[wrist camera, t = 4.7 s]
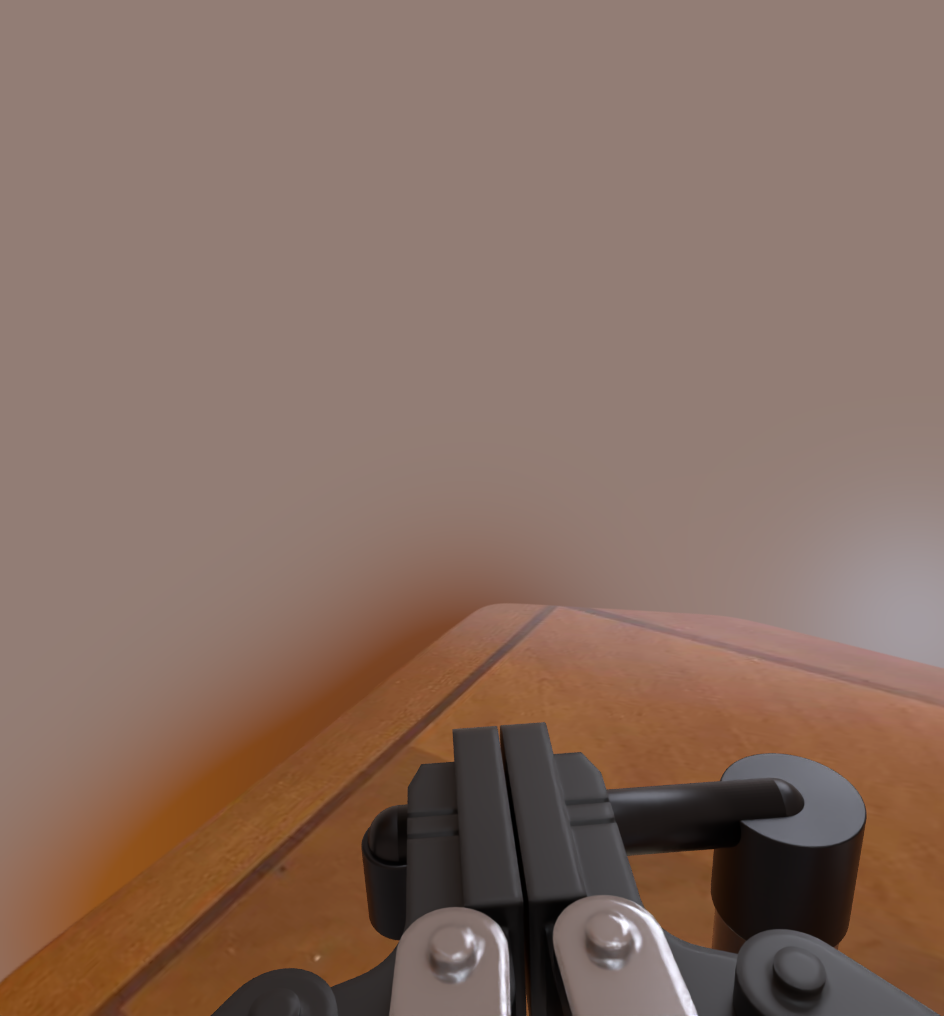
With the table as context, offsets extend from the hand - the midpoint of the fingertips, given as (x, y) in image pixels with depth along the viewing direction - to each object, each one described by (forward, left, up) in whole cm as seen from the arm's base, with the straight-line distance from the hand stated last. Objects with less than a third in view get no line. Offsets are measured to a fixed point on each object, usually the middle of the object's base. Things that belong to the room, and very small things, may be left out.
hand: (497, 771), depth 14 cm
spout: (+8, +7, -14) cm, 18 cm away
